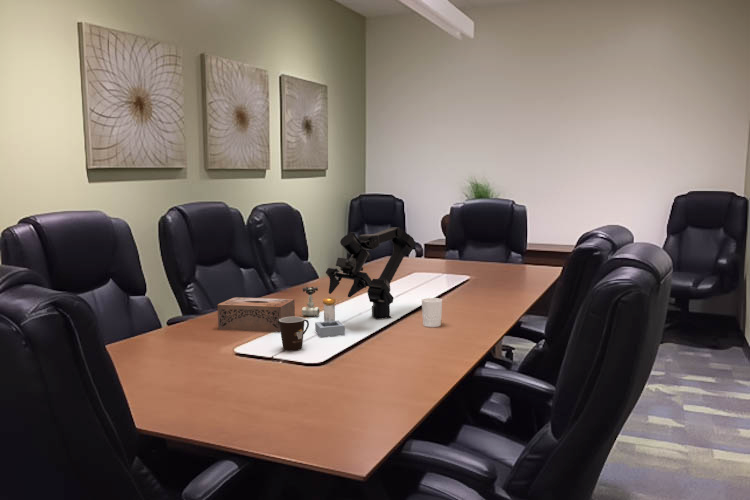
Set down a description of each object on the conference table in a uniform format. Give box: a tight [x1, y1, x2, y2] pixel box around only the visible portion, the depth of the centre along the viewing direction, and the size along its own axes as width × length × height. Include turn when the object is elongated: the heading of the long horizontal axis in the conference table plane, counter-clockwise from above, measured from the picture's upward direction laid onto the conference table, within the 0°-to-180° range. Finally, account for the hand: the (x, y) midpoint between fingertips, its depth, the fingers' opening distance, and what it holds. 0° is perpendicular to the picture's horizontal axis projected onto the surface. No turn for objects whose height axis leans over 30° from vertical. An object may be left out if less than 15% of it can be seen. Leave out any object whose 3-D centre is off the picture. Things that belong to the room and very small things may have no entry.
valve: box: [301, 286, 320, 317], centre depth 251 cm, size 7×7×12 cm
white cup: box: [421, 297, 443, 328], centre depth 233 cm, size 8×8×10 cm
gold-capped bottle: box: [322, 297, 336, 327], centre depth 222 cm, size 5×5×13 cm
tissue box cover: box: [216, 297, 296, 333], centre depth 235 cm, size 26×14×10 cm, turn 77°
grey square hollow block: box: [314, 319, 346, 338], centre depth 223 cm, size 9×9×4 cm
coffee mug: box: [279, 316, 310, 352], centre depth 204 cm, size 12×9×10 cm
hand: (338, 295), depth 226 cm, fingers open, 9 cm apart
